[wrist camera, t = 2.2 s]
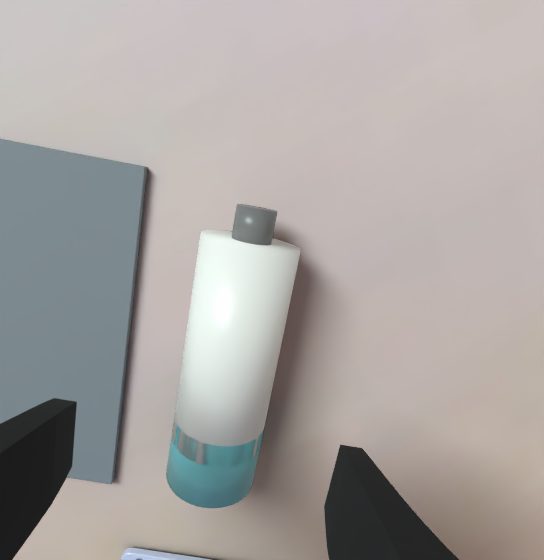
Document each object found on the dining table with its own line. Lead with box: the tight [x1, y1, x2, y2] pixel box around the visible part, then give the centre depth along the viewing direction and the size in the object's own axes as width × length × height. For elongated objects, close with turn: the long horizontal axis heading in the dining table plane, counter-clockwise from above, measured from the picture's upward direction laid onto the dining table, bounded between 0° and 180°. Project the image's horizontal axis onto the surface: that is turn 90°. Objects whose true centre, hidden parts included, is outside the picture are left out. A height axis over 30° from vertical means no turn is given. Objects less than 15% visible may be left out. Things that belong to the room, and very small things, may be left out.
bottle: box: [166, 204, 301, 508], centre depth 17 cm, size 4×12×4 cm, turn 169°
